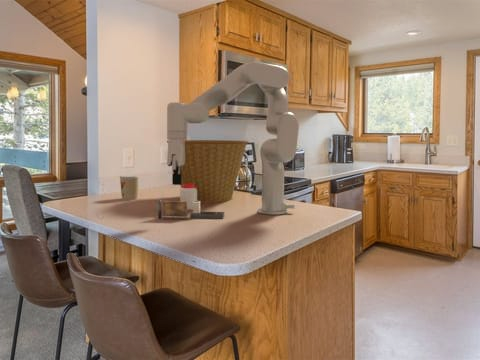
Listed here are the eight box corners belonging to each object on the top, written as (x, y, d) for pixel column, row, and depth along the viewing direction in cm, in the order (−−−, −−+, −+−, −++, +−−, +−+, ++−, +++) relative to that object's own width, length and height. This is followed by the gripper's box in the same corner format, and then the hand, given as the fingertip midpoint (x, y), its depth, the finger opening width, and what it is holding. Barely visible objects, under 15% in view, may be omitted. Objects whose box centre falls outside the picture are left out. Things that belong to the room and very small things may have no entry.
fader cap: (200, 211, 158) (200, 200, 158) (198, 213, 155) (198, 202, 154) (194, 211, 159) (194, 200, 158) (192, 213, 155) (192, 202, 154)
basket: (151, 201, 191) (149, 140, 187) (193, 190, 229) (193, 139, 225) (228, 208, 174) (228, 142, 171) (259, 195, 213) (260, 140, 209)
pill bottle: (194, 209, 171) (193, 185, 169) (177, 209, 172) (177, 184, 171) (199, 206, 178) (199, 183, 177) (183, 205, 180) (183, 182, 178)
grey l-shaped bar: (187, 218, 153) (187, 200, 152) (186, 219, 151) (186, 200, 151) (158, 218, 154) (158, 199, 153) (157, 218, 152) (157, 200, 151)
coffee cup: (120, 197, 201) (119, 175, 200) (138, 197, 204) (138, 174, 203) (120, 200, 193) (119, 176, 191) (139, 199, 195) (139, 176, 194)
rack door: (187, 216, 153) (186, 201, 152) (186, 216, 151) (186, 201, 151) (163, 215, 153) (163, 200, 152) (162, 216, 152) (162, 201, 151)
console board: (224, 215, 159) (224, 211, 159) (222, 218, 153) (222, 214, 153) (193, 214, 160) (193, 211, 160) (190, 217, 154) (190, 214, 154)
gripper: (172, 135, 152) (172, 181, 154) (162, 135, 137) (162, 186, 139) (190, 136, 152) (190, 182, 154) (182, 136, 137) (182, 187, 139)
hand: (177, 184), depth 146 cm, fingers closed
